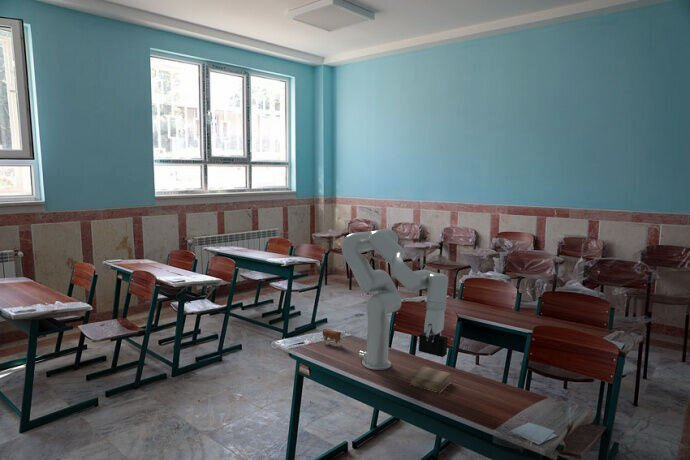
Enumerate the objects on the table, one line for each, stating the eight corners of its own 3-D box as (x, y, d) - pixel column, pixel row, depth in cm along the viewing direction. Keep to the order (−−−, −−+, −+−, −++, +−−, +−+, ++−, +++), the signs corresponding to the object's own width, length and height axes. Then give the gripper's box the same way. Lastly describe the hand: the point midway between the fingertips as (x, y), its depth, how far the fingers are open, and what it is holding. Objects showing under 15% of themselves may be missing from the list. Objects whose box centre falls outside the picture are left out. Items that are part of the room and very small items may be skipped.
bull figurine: (343, 349, 231) (344, 332, 230) (320, 343, 238) (321, 327, 237) (348, 347, 234) (349, 330, 233) (325, 341, 241) (326, 324, 241)
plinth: (409, 385, 194) (410, 375, 194) (422, 374, 205) (423, 365, 204) (440, 393, 187) (440, 383, 187) (451, 382, 198) (452, 373, 198)
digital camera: (448, 353, 194) (449, 336, 193) (443, 357, 189) (444, 340, 189) (423, 347, 200) (424, 331, 199) (418, 351, 195) (419, 334, 194)
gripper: (435, 299, 202) (432, 341, 204) (418, 307, 187) (415, 353, 189) (453, 302, 198) (449, 345, 200) (437, 310, 183) (434, 357, 185)
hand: (433, 348), depth 195 cm, fingers closed on digital camera, 5 cm apart
